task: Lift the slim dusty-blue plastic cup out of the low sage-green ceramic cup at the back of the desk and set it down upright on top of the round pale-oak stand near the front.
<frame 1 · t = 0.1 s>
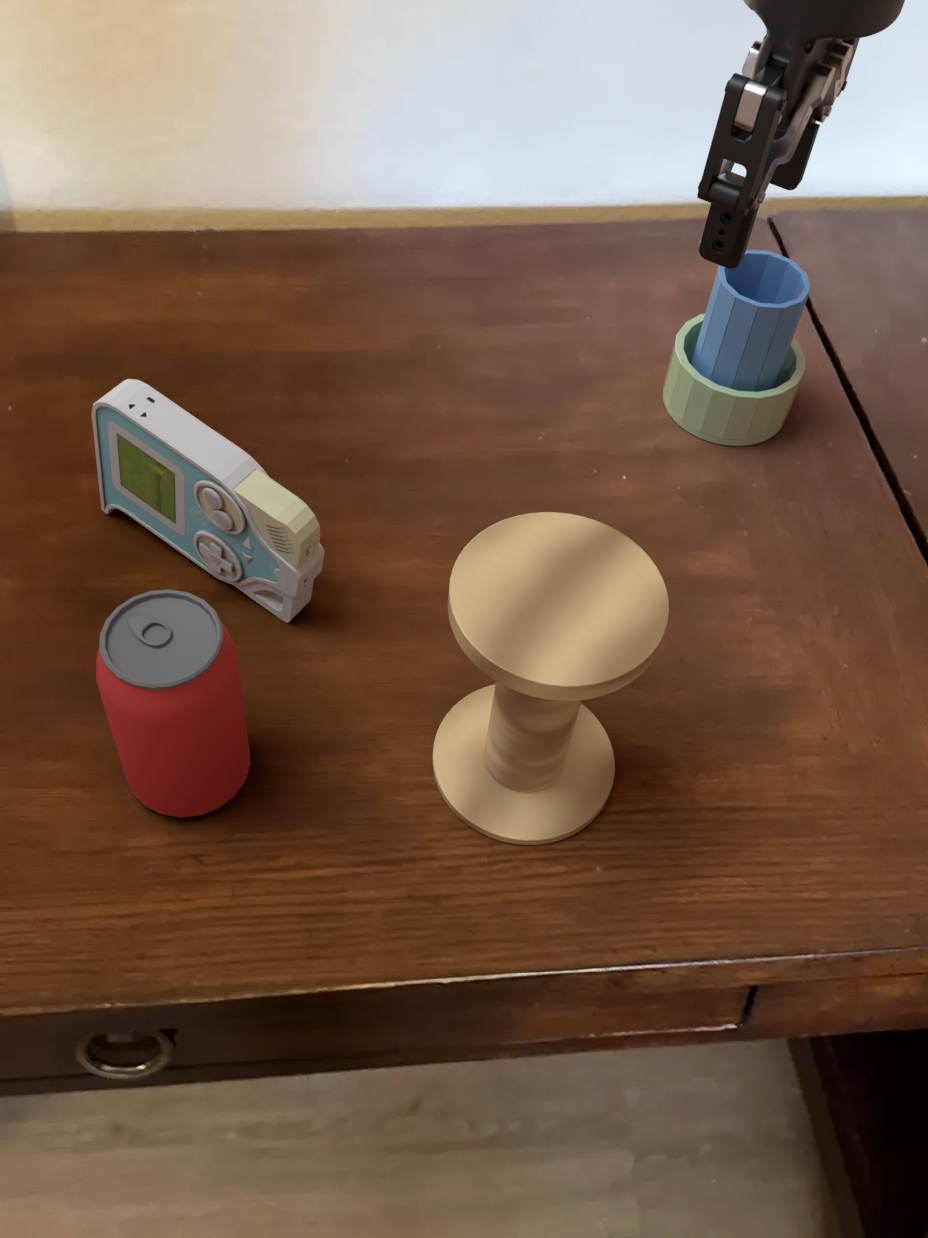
hand: (750, 219, 64), 20 cm above the table, tool pointing down, fingers open, 8 cm apart
blue cup: (726, 395, 85), point 1 cm above the table, touching green cup
stand: (559, 594, 55), on the table
green cup: (724, 401, 86), on the table
handheld gaming console: (211, 562, 74), on the table
beer can: (189, 769, 65), on the table
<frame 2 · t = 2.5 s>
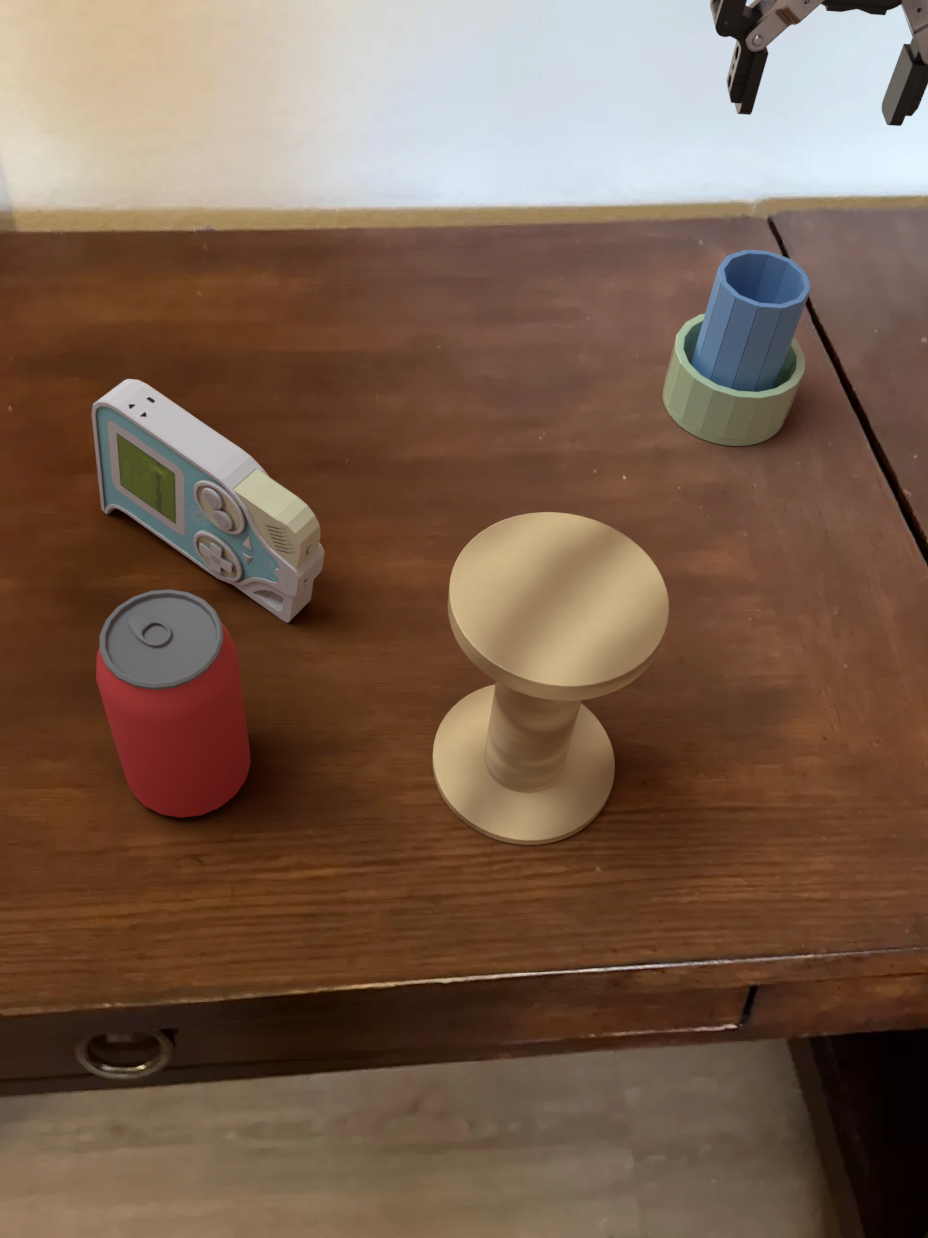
hand: (816, 112, 68), 22 cm above the table, tool pointing down, fingers open, 8 cm apart
nothing on the table moved.
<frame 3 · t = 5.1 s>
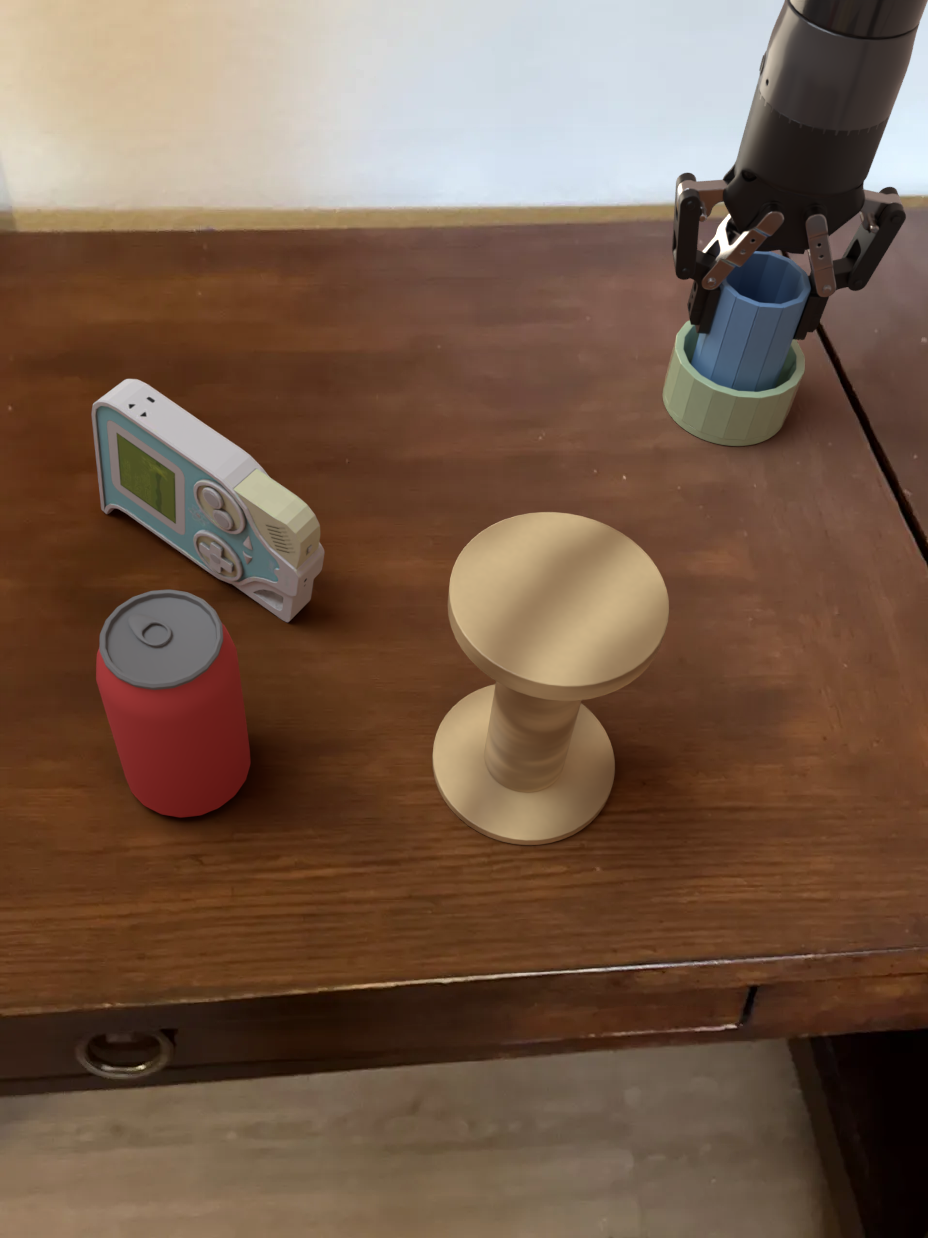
hand: (748, 328, 80), 7 cm above the table, tool pointing down, fingers closed on blue cup, 6 cm apart
blue cup: (726, 395, 85), point 1 cm above the table, touching green cup, gripper
everything else where it was.
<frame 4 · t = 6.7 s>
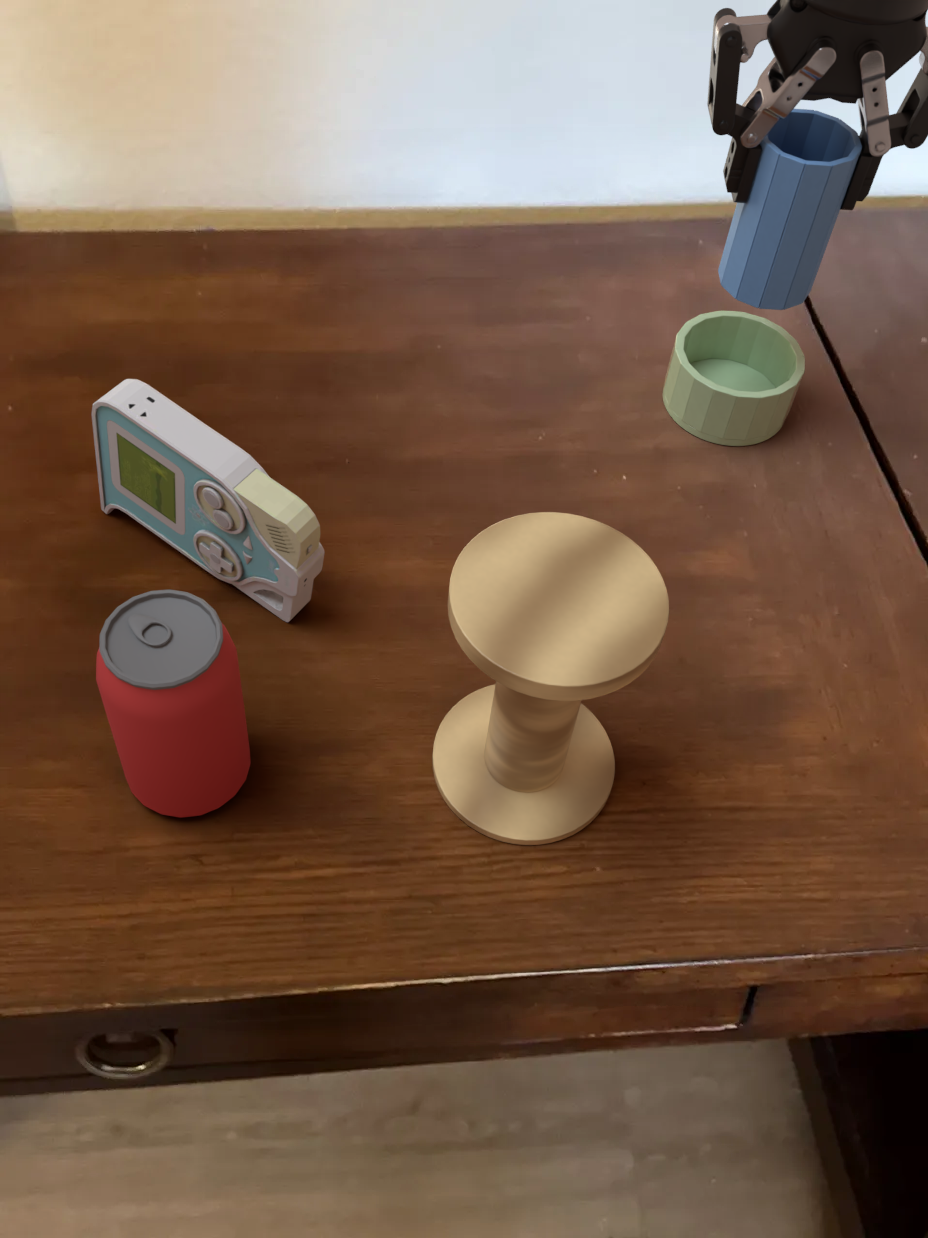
hand: (791, 197, 72), 16 cm above the table, tool pointing down, fingers closed on blue cup, 6 cm apart
blue cup: (764, 280, 77), point 10 cm above the table, touching gripper
everything else where it was.
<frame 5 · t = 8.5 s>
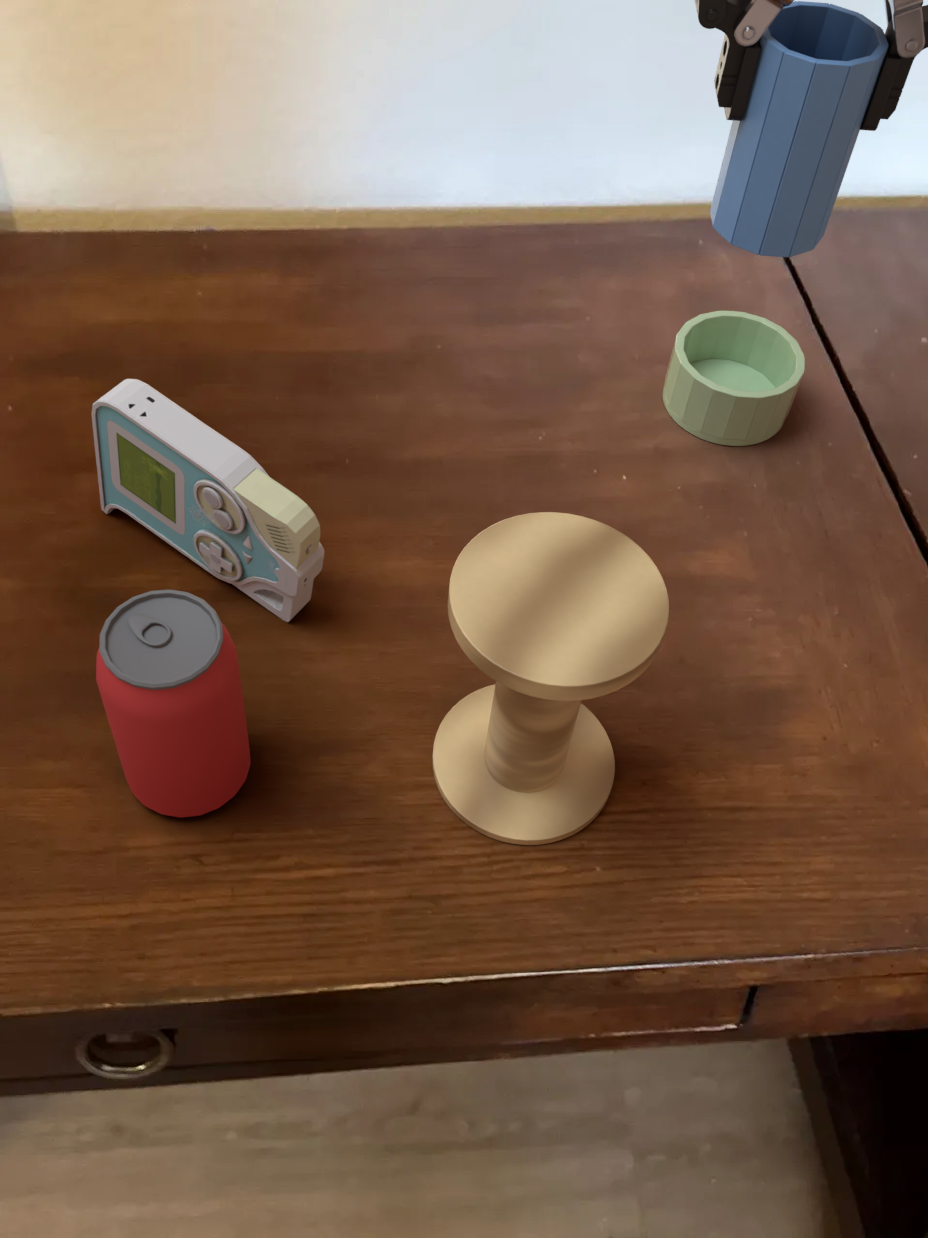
hand: (798, 115, 58), 27 cm above the table, tool pointing down, fingers closed on blue cup, 6 cm apart
blue cup: (766, 222, 63), point 21 cm above the table, touching gripper
everything else where it was.
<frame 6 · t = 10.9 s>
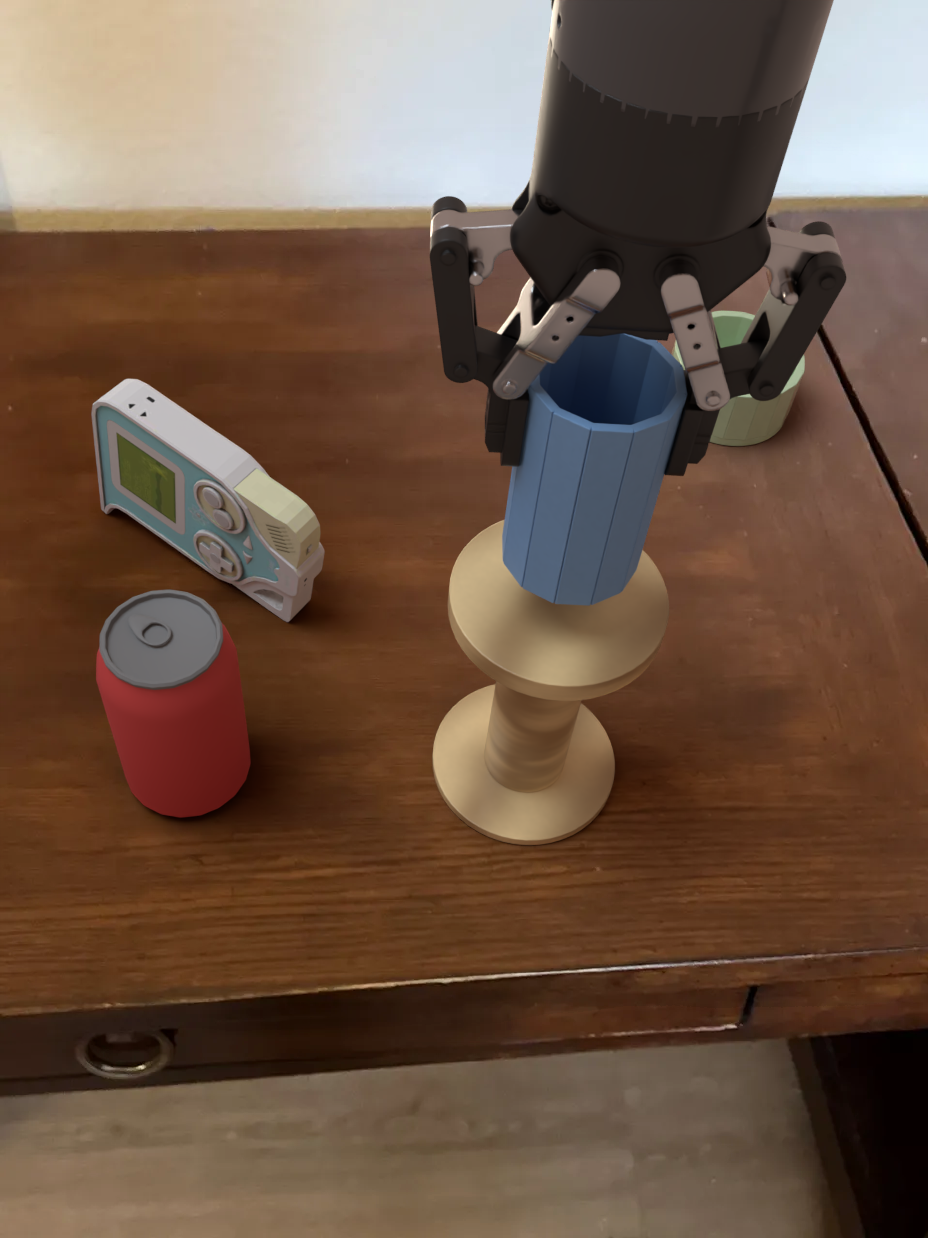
hand: (591, 454, 48), 24 cm above the table, tool pointing down, fingers closed on blue cup, 6 cm apart
blue cup: (569, 552, 52), point 18 cm above the table, touching gripper
everything else where it was.
when the fingers open (21 cm above the table, at t = 12.3 s): blue cup stays where it is, resting on stand.
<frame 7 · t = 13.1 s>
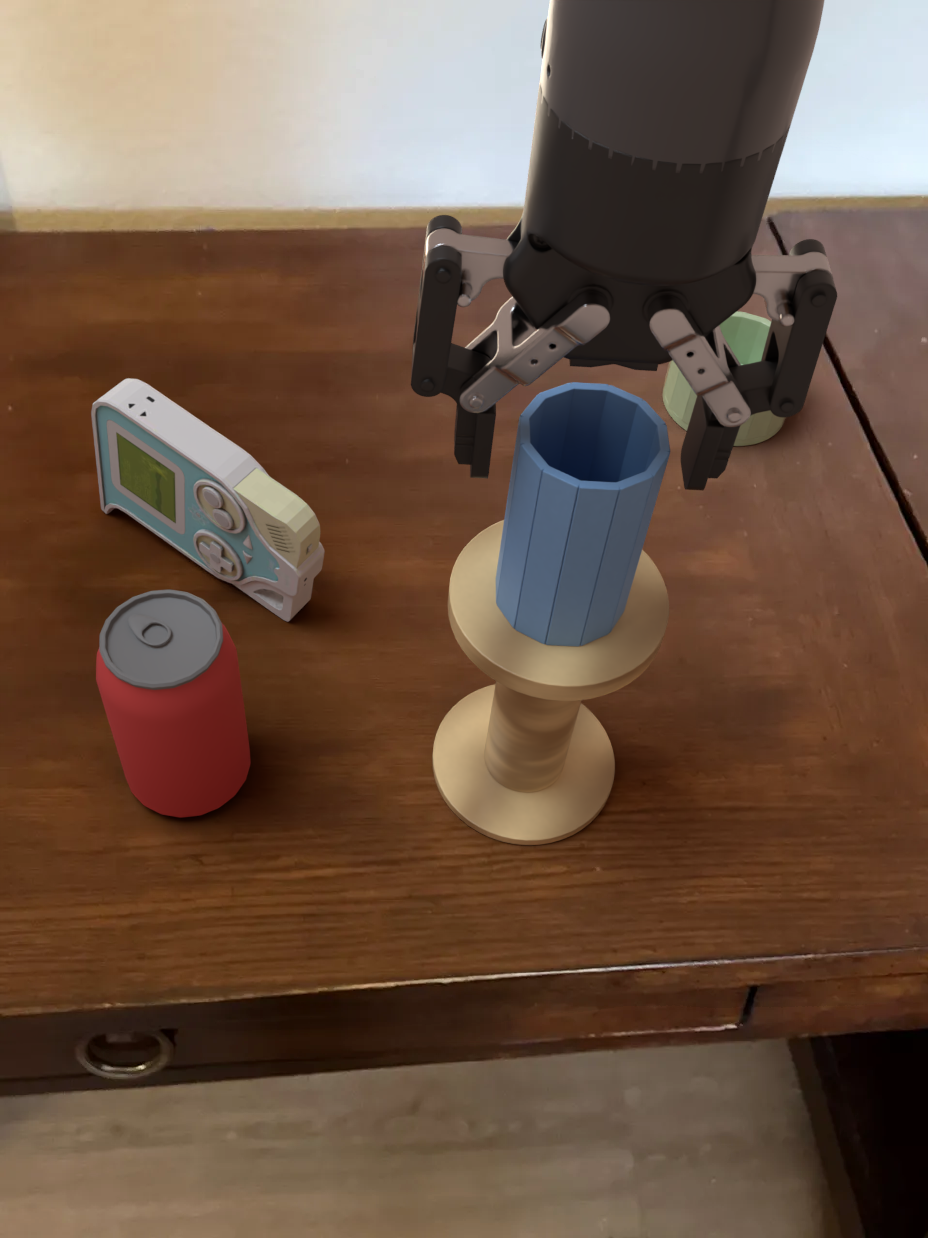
hand: (585, 469, 48), 23 cm above the table, tool pointing down, fingers open, 8 cm apart
blue cup: (559, 594, 55), point 15 cm above the table, touching stand
everything else where it was.
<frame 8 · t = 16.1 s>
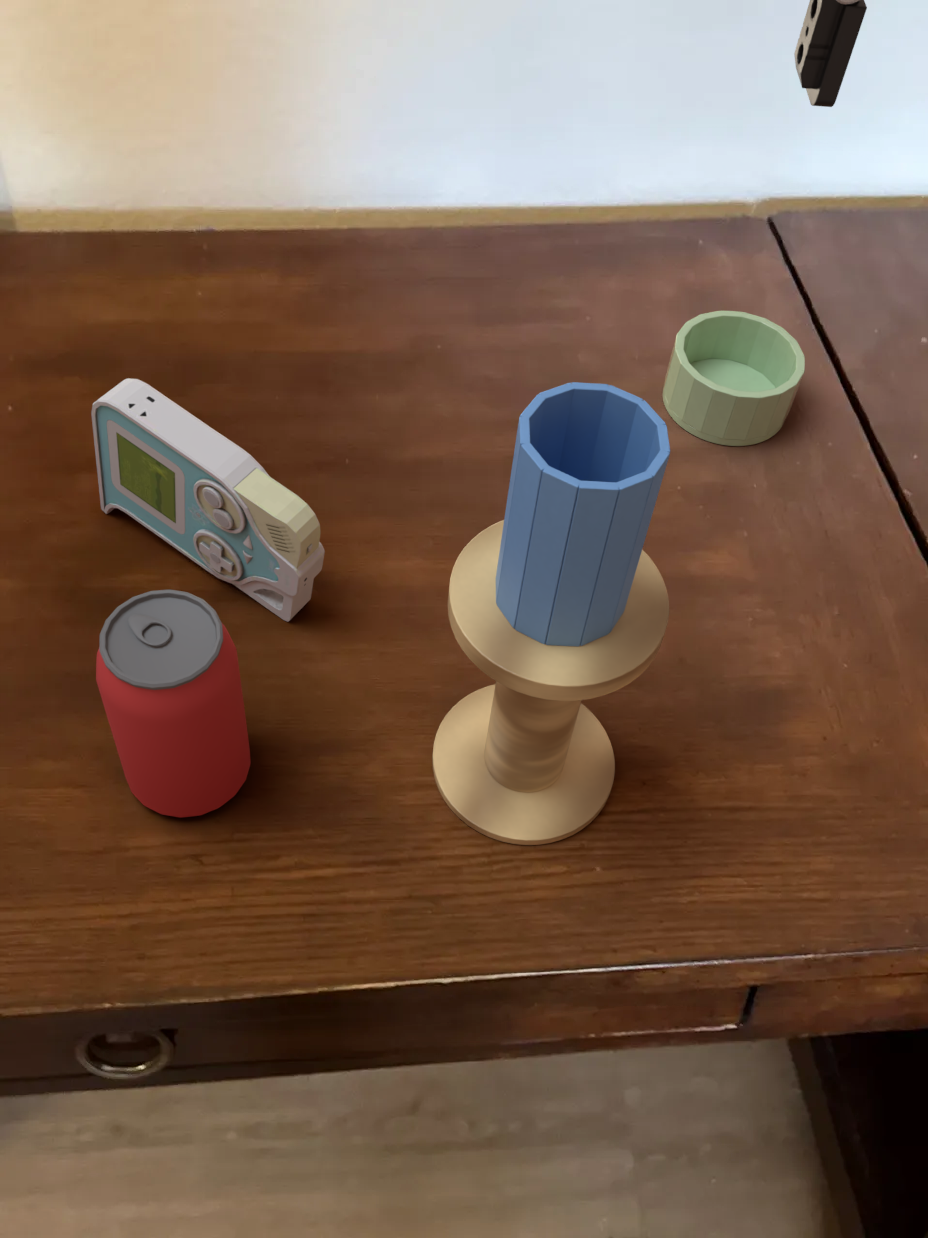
nothing on the table moved.
at the end: blue cup 0.0 cm off-centre on the stand, point 0.0 cm above the stand's base; blue cup tilted 0°; the gripper is holding nothing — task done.
